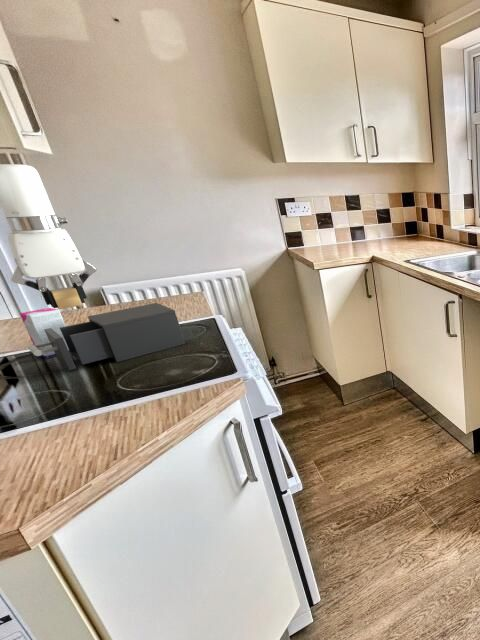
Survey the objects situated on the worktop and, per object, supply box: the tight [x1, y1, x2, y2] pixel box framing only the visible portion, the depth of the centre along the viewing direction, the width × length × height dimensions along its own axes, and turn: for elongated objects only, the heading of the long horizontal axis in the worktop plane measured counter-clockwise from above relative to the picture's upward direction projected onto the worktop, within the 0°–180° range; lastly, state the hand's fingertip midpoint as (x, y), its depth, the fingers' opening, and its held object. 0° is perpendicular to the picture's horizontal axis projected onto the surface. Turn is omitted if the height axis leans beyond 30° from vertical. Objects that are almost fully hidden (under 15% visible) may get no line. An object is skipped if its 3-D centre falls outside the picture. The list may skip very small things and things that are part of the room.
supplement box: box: [19, 307, 70, 359], centre depth 109 cm, size 6×6×12 cm
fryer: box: [87, 302, 186, 363], centre depth 111 cm, size 15×14×10 cm
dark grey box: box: [27, 321, 114, 371], centre depth 103 cm, size 17×12×8 cm
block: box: [49, 286, 83, 310], centre depth 99 cm, size 4×4×4 cm
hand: (68, 303), depth 99 cm, fingers closed on block, 4 cm apart
